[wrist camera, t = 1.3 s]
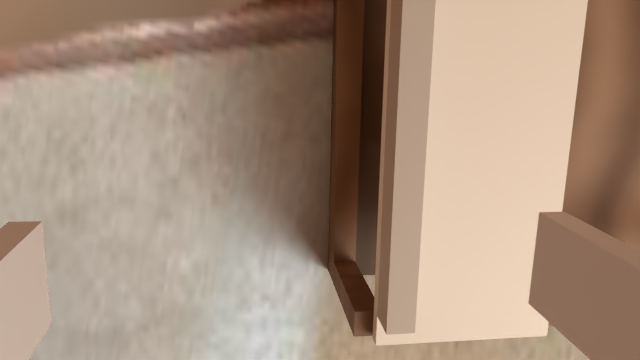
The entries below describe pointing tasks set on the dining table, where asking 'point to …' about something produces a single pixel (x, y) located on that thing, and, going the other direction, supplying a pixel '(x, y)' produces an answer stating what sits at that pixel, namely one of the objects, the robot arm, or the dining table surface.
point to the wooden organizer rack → (584, 156)
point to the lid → (470, 162)
